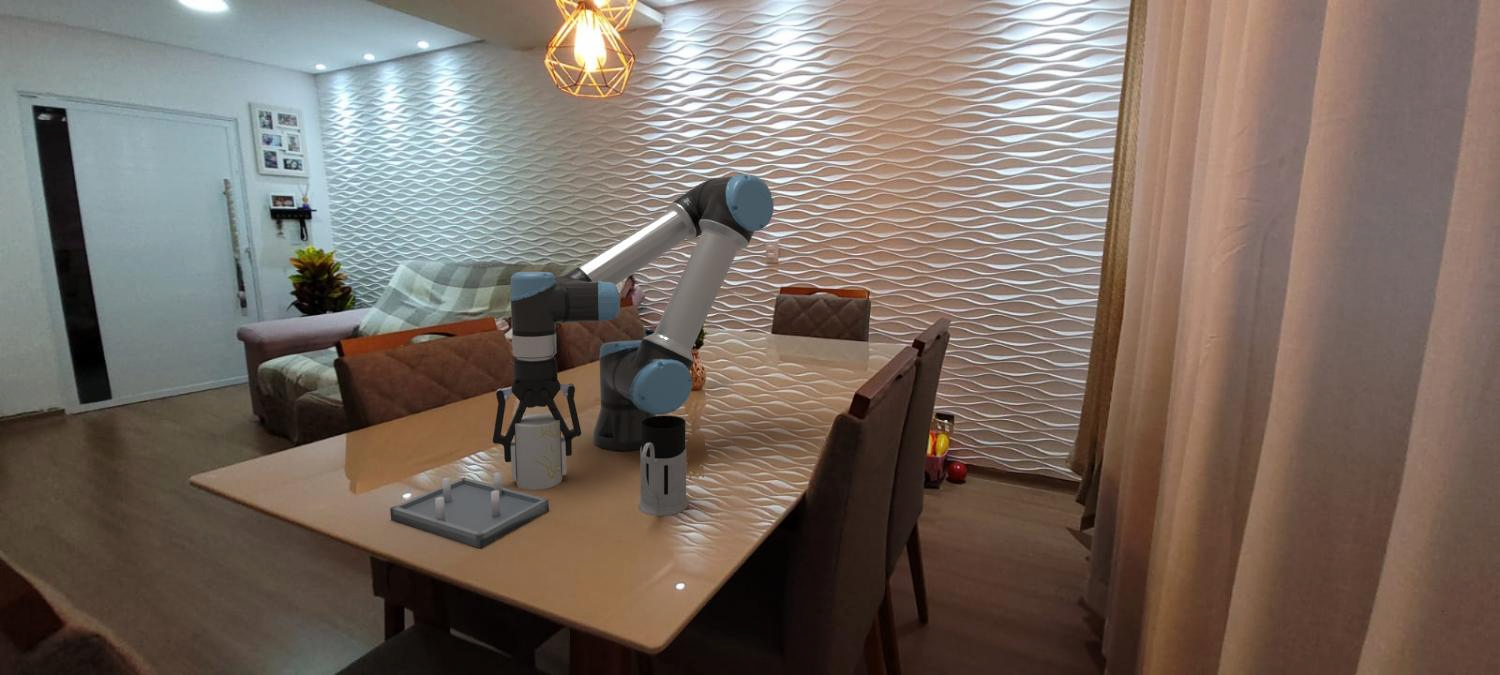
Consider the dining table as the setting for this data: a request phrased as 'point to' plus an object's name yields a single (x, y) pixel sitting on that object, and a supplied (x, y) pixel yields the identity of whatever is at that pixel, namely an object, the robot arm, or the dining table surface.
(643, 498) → the glass holder
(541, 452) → the cup
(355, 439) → the dining table surface
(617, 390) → the robot arm
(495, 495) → the tray
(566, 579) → the dining table surface
